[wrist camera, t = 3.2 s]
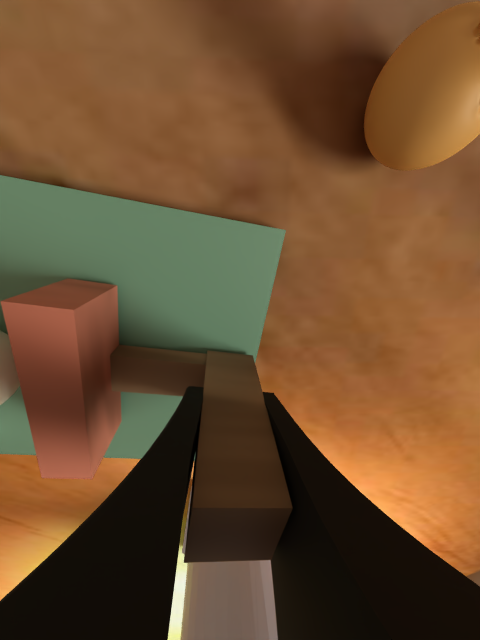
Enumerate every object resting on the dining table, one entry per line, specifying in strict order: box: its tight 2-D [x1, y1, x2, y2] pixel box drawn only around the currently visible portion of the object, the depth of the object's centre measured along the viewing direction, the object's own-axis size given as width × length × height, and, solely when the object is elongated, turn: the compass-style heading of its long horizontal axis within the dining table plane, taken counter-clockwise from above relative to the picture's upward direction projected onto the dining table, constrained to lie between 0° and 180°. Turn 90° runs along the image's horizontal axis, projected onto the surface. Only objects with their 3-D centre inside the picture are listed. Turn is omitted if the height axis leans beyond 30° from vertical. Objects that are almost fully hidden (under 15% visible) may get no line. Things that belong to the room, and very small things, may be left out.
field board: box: [0, 175, 286, 461], centre depth 12 cm, size 15×21×1 cm
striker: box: [1, 279, 293, 563], centre depth 8 cm, size 8×9×7 cm
